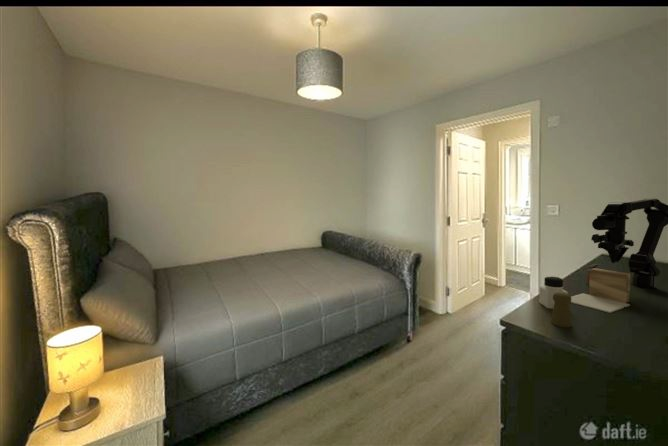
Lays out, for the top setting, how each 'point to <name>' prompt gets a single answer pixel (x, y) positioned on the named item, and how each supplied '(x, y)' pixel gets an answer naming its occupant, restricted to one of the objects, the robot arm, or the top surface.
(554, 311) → the wooden pepper mill
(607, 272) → the letter block
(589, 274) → the lighter
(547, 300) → the medicine bottle
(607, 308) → the felt mat
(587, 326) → the top surface
